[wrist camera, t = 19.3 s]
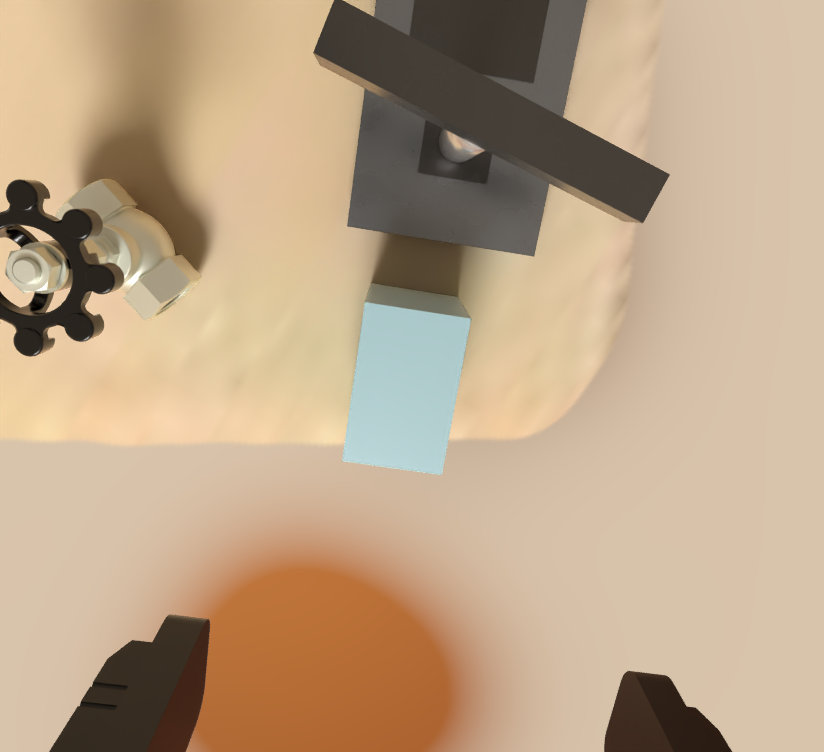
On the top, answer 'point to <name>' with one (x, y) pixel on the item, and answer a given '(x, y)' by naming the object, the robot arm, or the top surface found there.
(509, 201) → the housing
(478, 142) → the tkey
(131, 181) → the top surface
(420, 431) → the light blue block
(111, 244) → the valve
